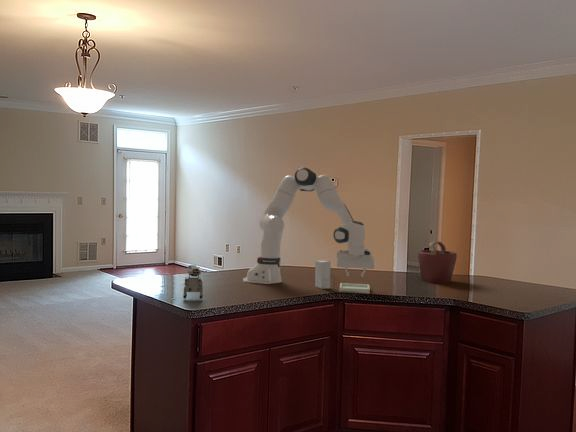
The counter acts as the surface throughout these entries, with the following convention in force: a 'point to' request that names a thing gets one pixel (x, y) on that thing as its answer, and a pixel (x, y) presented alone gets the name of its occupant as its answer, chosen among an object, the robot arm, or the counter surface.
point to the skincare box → (322, 274)
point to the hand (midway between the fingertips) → (355, 276)
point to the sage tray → (354, 288)
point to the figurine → (193, 281)
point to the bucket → (436, 264)
